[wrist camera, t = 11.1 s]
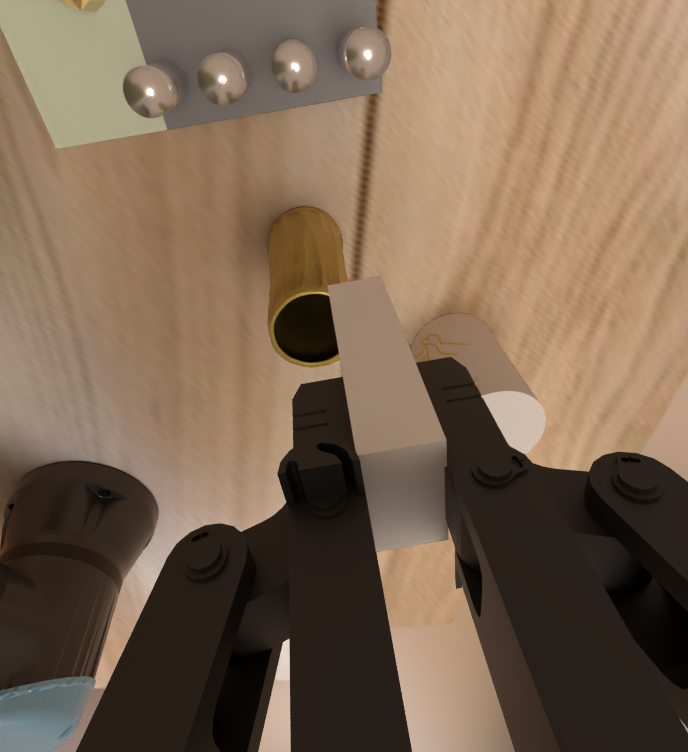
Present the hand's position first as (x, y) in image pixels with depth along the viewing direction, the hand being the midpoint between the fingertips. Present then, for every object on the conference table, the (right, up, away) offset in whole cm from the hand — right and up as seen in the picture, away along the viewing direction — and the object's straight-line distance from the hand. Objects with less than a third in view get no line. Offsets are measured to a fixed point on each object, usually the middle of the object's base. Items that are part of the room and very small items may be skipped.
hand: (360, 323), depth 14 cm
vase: (-4, +9, +26) cm, 28 cm away
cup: (+10, +1, +33) cm, 35 cm away
